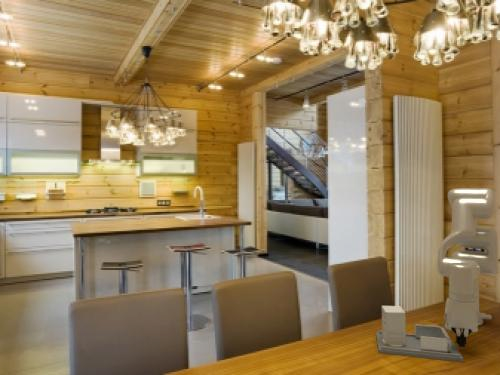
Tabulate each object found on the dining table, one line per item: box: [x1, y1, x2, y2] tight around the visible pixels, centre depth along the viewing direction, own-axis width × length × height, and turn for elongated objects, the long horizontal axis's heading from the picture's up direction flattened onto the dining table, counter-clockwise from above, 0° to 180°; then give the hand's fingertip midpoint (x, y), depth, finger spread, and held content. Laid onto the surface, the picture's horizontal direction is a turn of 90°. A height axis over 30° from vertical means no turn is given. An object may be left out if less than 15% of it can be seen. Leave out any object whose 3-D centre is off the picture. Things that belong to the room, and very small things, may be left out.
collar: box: [414, 323, 452, 353], centre depth 136 cm, size 10×12×5 cm
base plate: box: [375, 330, 464, 363], centre depth 138 cm, size 28×16×2 cm, turn 74°
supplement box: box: [381, 305, 407, 345], centre depth 140 cm, size 7×7×13 cm
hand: (461, 345), depth 134 cm, fingers closed
